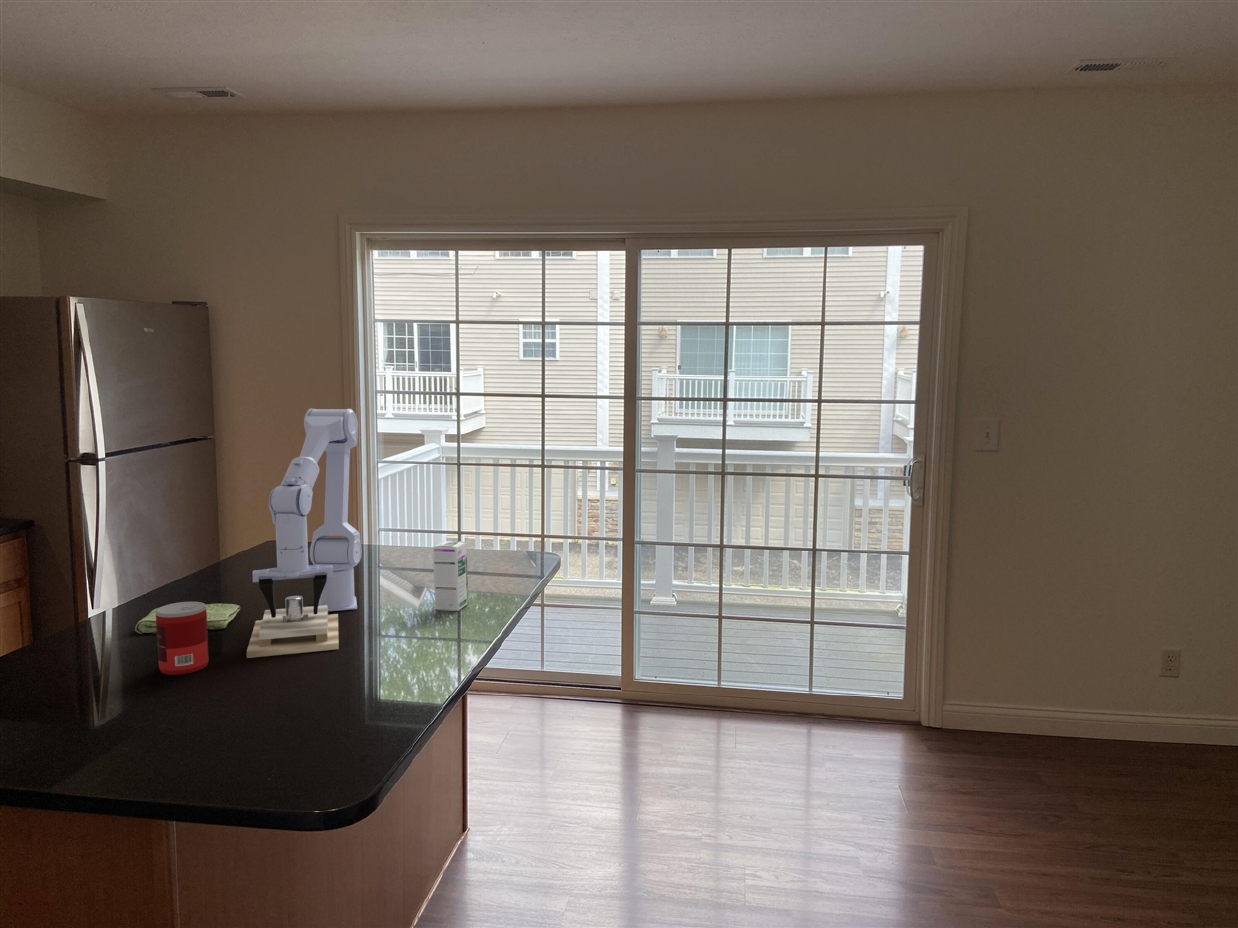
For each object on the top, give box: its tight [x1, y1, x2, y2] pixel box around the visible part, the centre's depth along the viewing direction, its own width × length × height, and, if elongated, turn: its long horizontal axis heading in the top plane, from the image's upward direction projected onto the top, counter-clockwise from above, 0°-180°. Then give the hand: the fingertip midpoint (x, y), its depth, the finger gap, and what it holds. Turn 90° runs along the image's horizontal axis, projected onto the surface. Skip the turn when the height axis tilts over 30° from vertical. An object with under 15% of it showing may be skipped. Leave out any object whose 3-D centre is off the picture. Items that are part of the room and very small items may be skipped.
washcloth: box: [134, 603, 241, 635], centre depth 175 cm, size 13×18×3 cm
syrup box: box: [432, 540, 469, 612], centre depth 187 cm, size 6×6×14 cm
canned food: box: [156, 601, 210, 676], centre depth 149 cm, size 8×8×11 cm
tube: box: [284, 595, 304, 623], centre depth 166 cm, size 3×3×8 cm
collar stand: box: [246, 605, 340, 659], centre depth 166 cm, size 20×16×4 cm
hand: (294, 614), depth 166 cm, fingers open, 7 cm apart
